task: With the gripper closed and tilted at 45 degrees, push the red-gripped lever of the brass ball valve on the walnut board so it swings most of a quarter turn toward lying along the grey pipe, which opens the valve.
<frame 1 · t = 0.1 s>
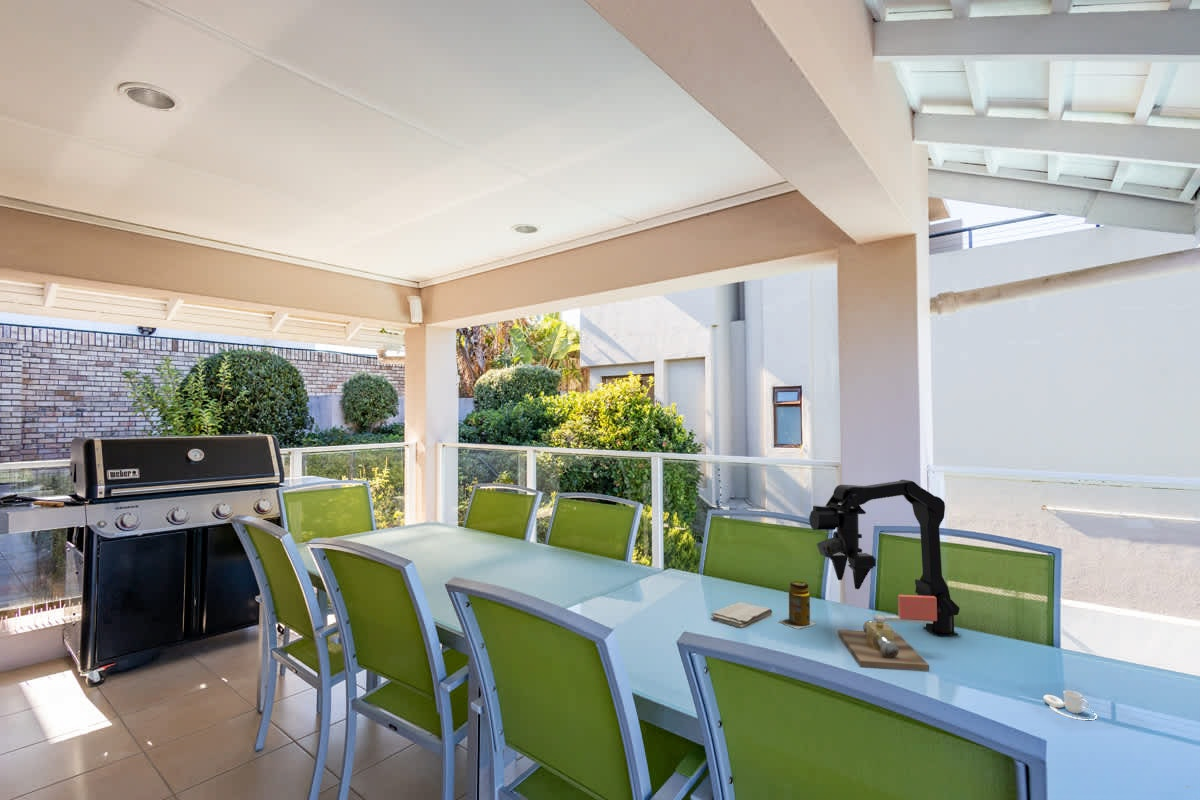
hand: (848, 584, 166), 15 cm above the table, tool pointing down, fingers open, 9 cm apart
mounting board: (880, 651, 155), on the table
ball valve: (879, 633, 155), on the mounting board, point 5 cm above the table
teacup and saucer: (1069, 708, 126), on the table
washcloth: (741, 619, 182), on the table
valve lever: (904, 608, 155), point 12 cm above the table, hinge at 0.0°
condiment: (797, 624, 177), on the table
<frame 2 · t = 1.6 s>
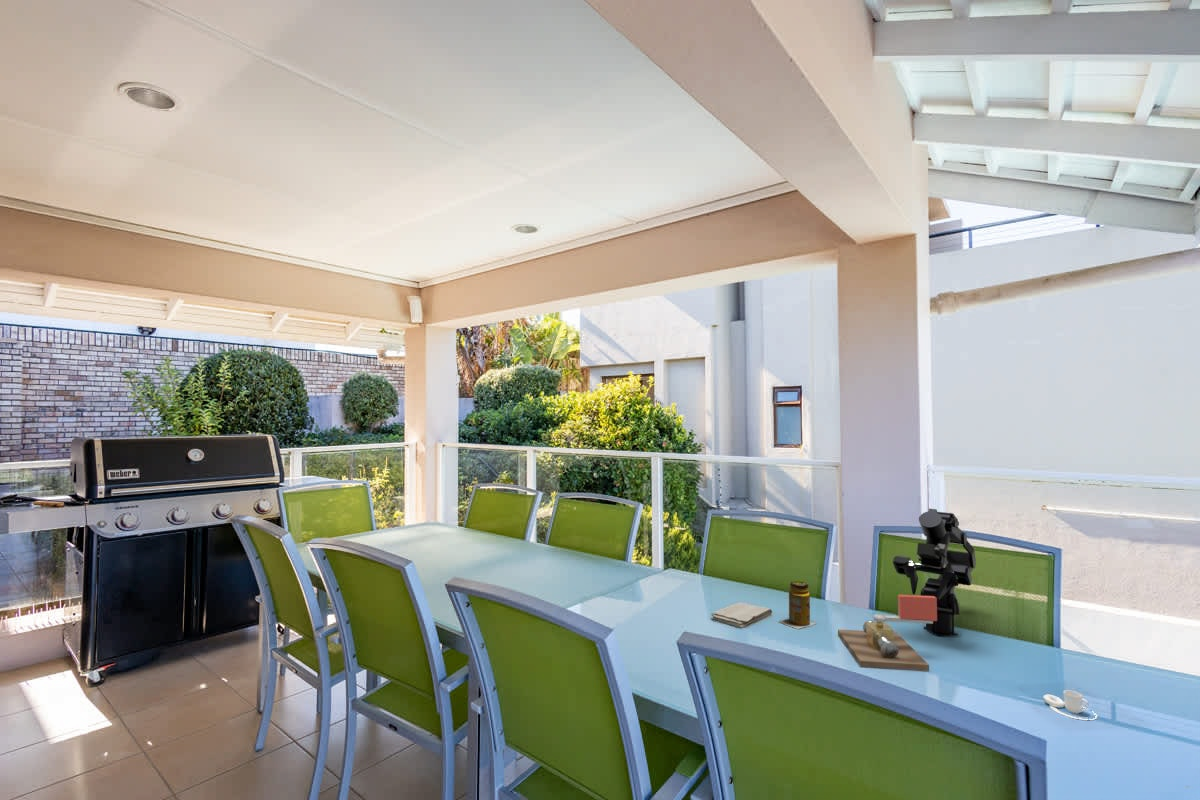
hand: (925, 596, 159), 14 cm above the table, tool tilted 45°, fingers open, 6 cm apart
nothing on the table moved.
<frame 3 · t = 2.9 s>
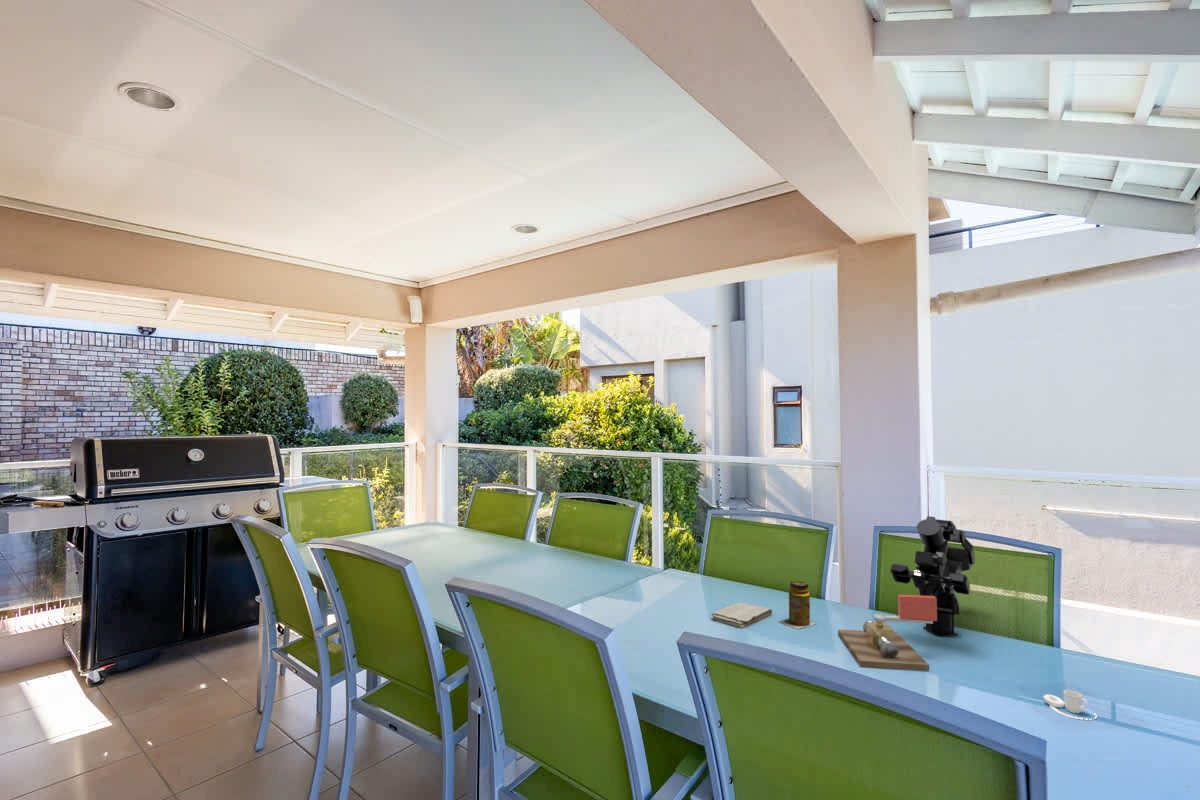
hand: (923, 605, 157), 12 cm above the table, tool tilted 45°, fingers closed
nothing on the table moved.
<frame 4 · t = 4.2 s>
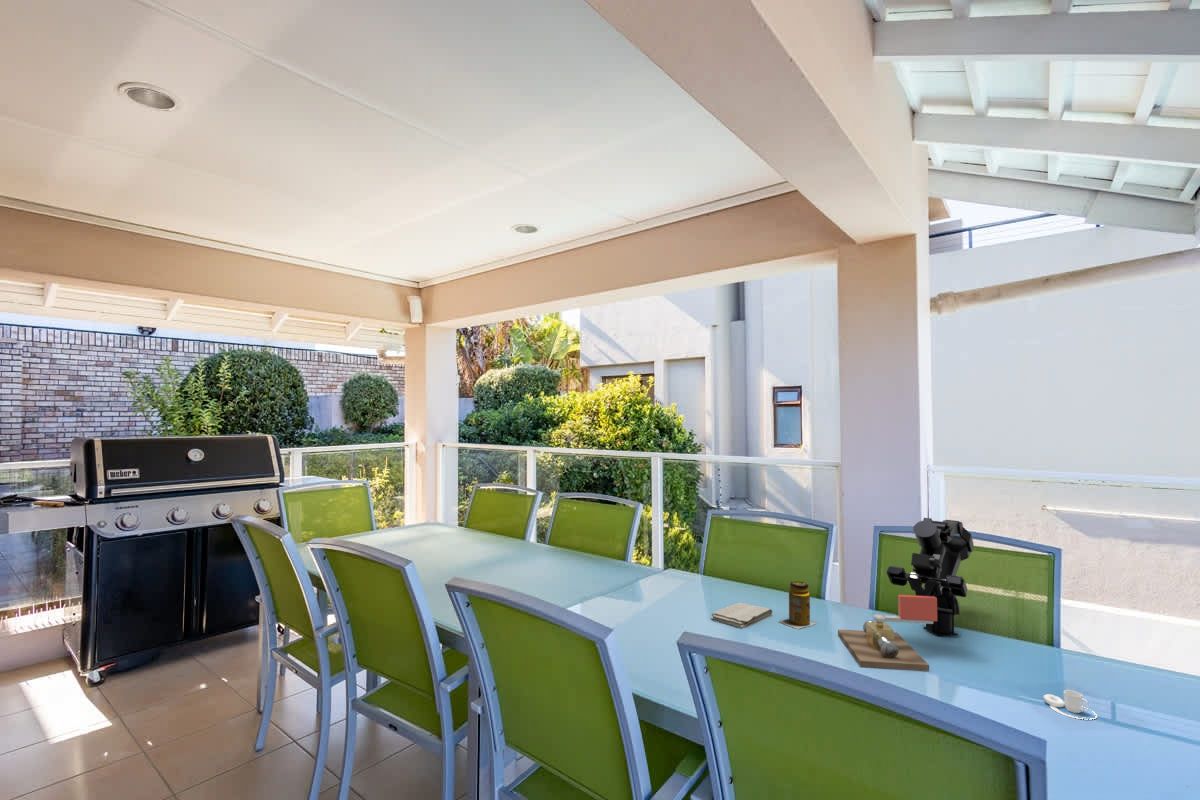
hand: (920, 607, 155), 12 cm above the table, tool tilted 45°, fingers closed
valve lever: (904, 608, 155), point 12 cm above the table, hinge at 0.9°, touching gripper
everything else where it was.
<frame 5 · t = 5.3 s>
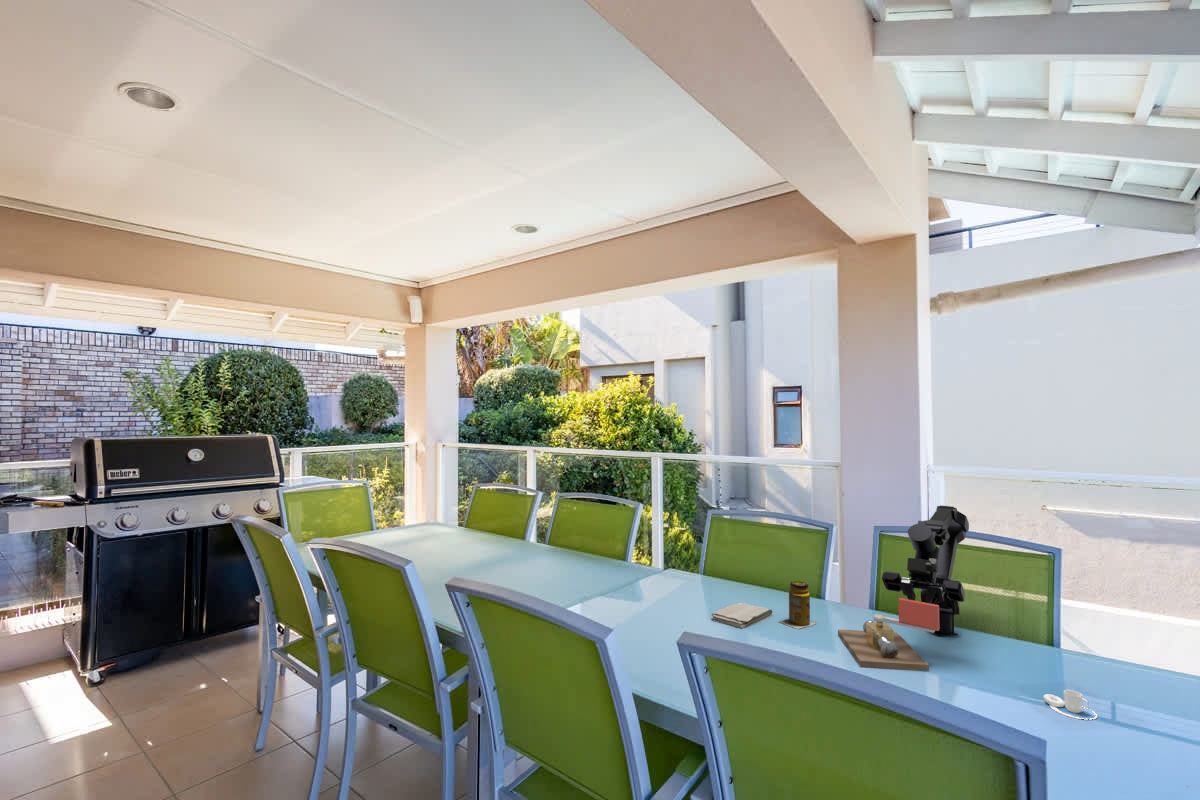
hand: (917, 614, 150), 11 cm above the table, tool tilted 45°, fingers closed on valve lever, 2 cm apart
valve lever: (905, 612, 151), point 12 cm above the table, hinge at 33.8°, touching gripper
everything else where it was.
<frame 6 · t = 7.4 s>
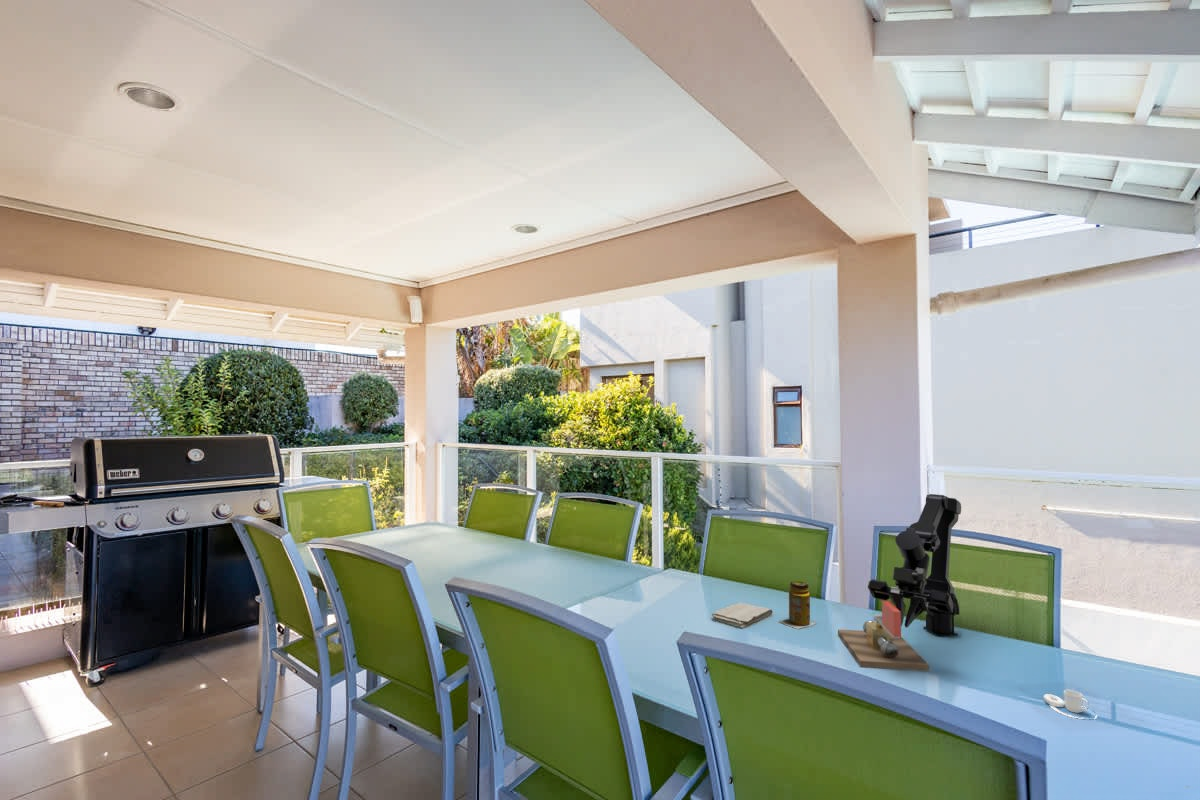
hand: (902, 626, 144), 11 cm above the table, tool tilted 40°, fingers closed
valve lever: (887, 615, 149), point 12 cm above the table, hinge at 90.6°, touching gripper
everything else where it was.
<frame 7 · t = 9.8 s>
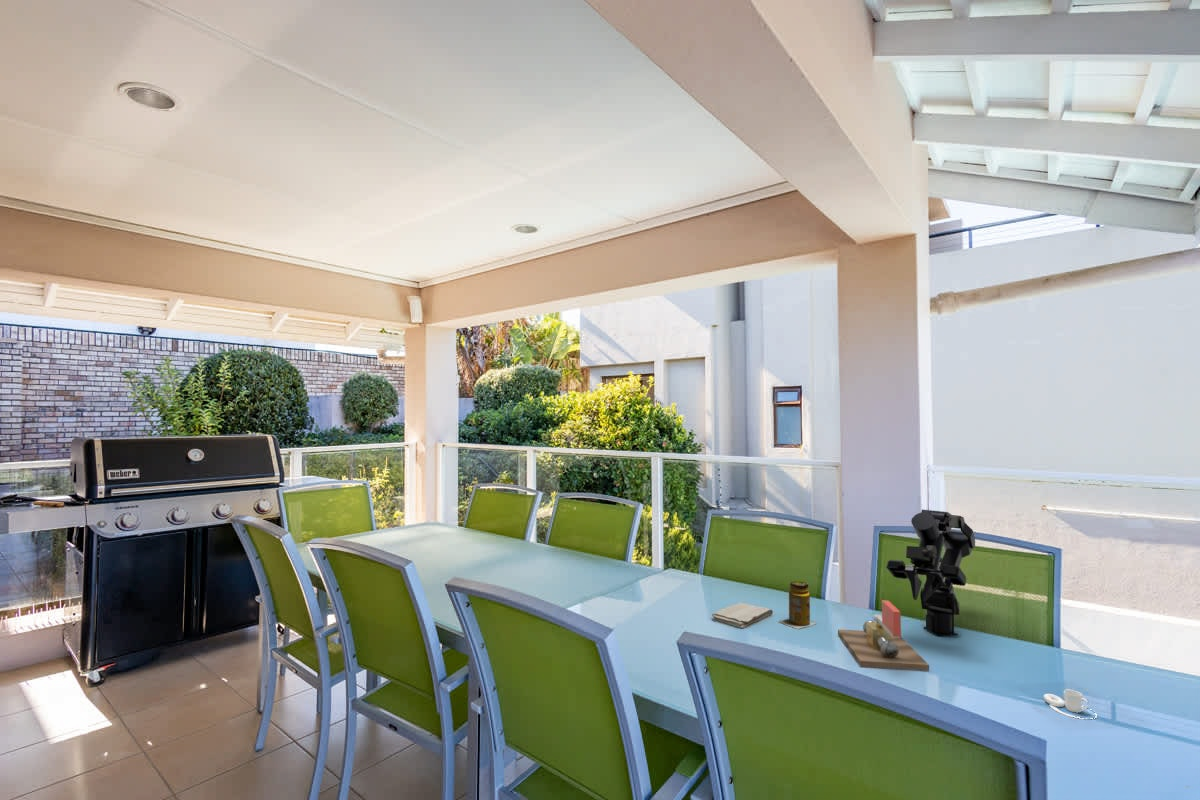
hand: (919, 600, 156), 13 cm above the table, tool tilted 40°, fingers closed
valve lever: (887, 615, 149), point 12 cm above the table, hinge at 90.8°
everything else where it was.
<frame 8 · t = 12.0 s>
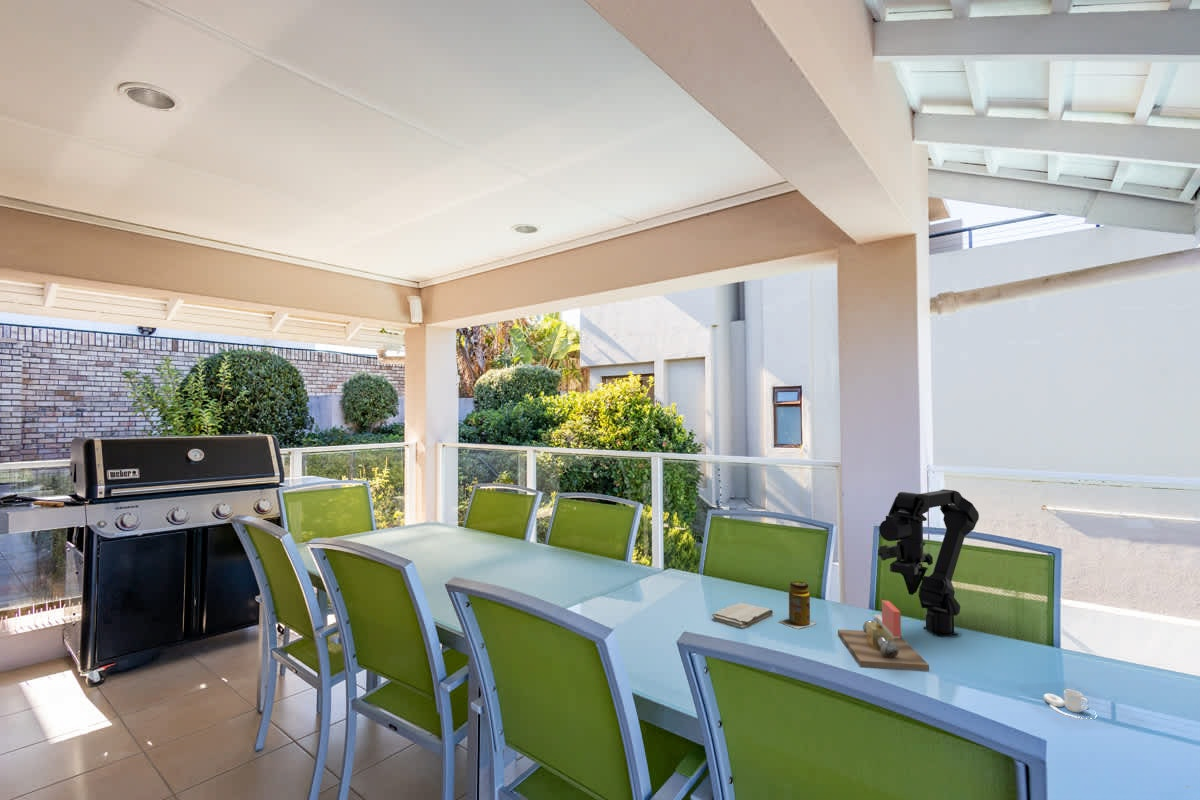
hand: (912, 593, 163), 13 cm above the table, tool pointing down, fingers closed
nothing on the table moved.
at the end: valve lever at +91° (first picture: +0°); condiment moved 0.3 cm from its start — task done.
